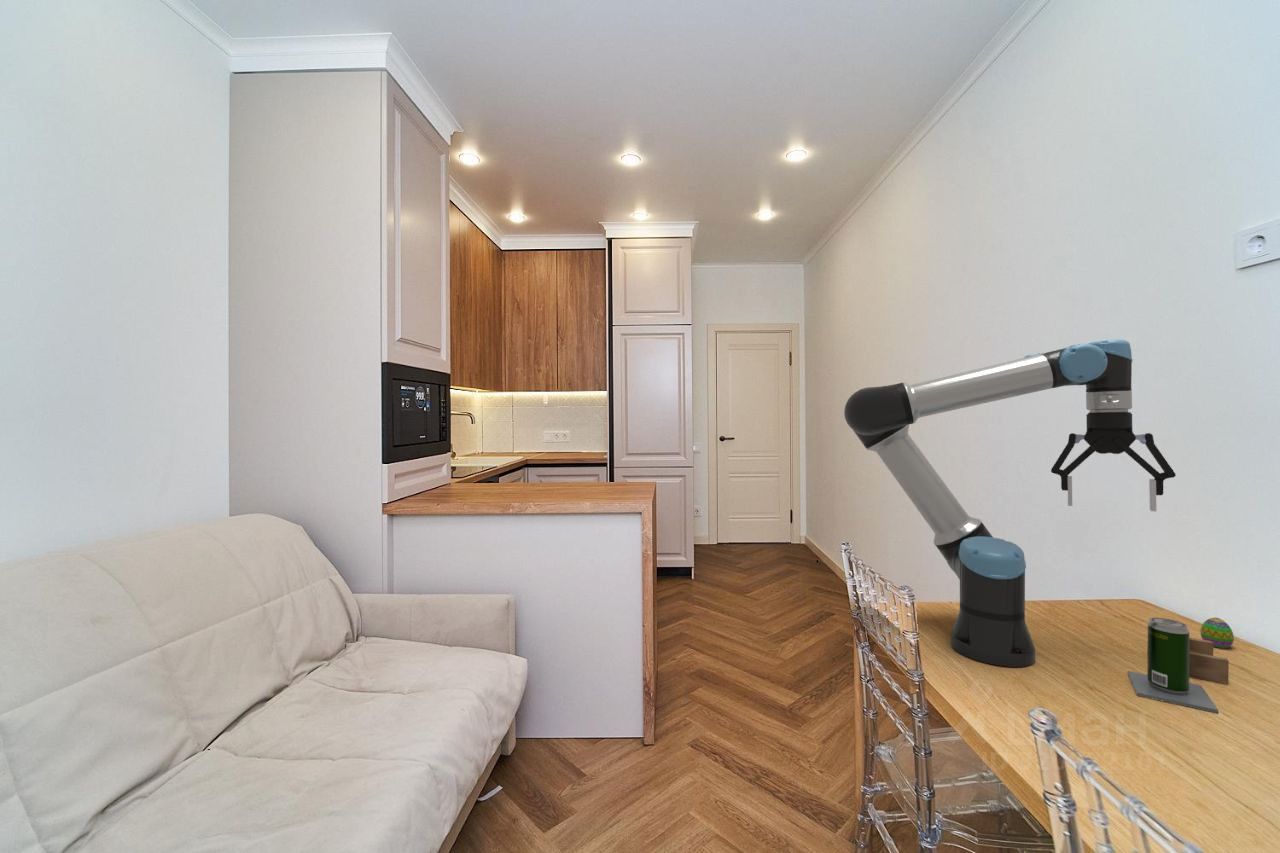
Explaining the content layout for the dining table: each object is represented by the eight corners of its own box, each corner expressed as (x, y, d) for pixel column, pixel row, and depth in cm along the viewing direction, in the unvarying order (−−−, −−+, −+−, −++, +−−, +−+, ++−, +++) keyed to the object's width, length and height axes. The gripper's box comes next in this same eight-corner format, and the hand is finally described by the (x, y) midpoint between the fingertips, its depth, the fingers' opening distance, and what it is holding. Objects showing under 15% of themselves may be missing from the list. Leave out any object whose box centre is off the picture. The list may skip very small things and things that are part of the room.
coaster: (1137, 695, 94) (1137, 692, 94) (1127, 673, 102) (1127, 670, 102) (1218, 713, 88) (1218, 709, 88) (1201, 688, 97) (1201, 685, 97)
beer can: (1182, 698, 92) (1182, 630, 92) (1142, 685, 97) (1142, 620, 97) (1194, 690, 95) (1194, 624, 94) (1154, 678, 99) (1154, 615, 99)
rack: (1161, 671, 103) (1161, 648, 103) (1150, 652, 112) (1150, 631, 111) (1228, 684, 98) (1228, 660, 98) (1211, 663, 106) (1211, 641, 106)
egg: (1210, 639, 118) (1210, 612, 118) (1239, 648, 113) (1239, 621, 113) (1194, 641, 117) (1194, 615, 116) (1223, 651, 112) (1223, 623, 112)
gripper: (1037, 412, 120) (1038, 505, 120) (1193, 409, 105) (1195, 515, 105) (1038, 412, 126) (1039, 501, 126) (1186, 409, 110) (1187, 510, 111)
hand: (1110, 507), depth 116 cm, fingers open, 13 cm apart
